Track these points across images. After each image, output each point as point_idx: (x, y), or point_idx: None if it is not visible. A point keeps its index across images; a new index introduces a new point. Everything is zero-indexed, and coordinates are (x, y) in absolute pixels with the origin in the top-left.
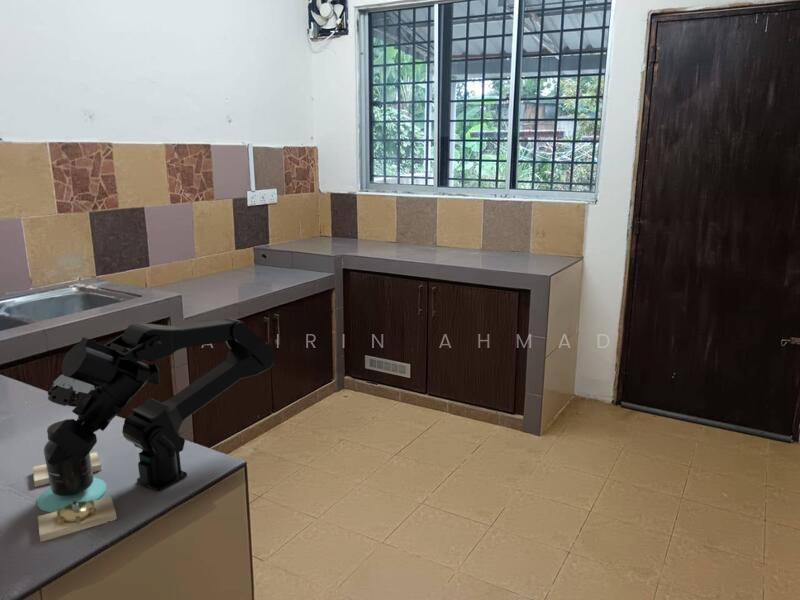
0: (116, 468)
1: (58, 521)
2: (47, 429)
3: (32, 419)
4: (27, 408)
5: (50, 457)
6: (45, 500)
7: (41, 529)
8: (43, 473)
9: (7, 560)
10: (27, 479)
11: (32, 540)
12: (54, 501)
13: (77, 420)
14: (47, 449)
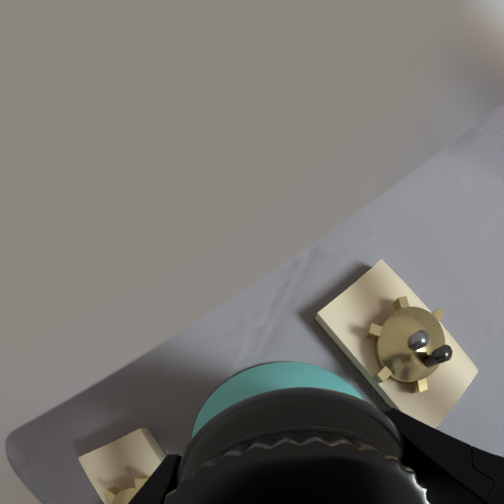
0: None
1: (110, 488)
2: (216, 463)
3: (492, 154)
4: (499, 137)
5: (148, 479)
6: (243, 395)
7: (93, 456)
8: (359, 309)
9: (47, 413)
10: (347, 272)
11: (92, 438)
12: None
13: (477, 498)
14: (192, 449)
